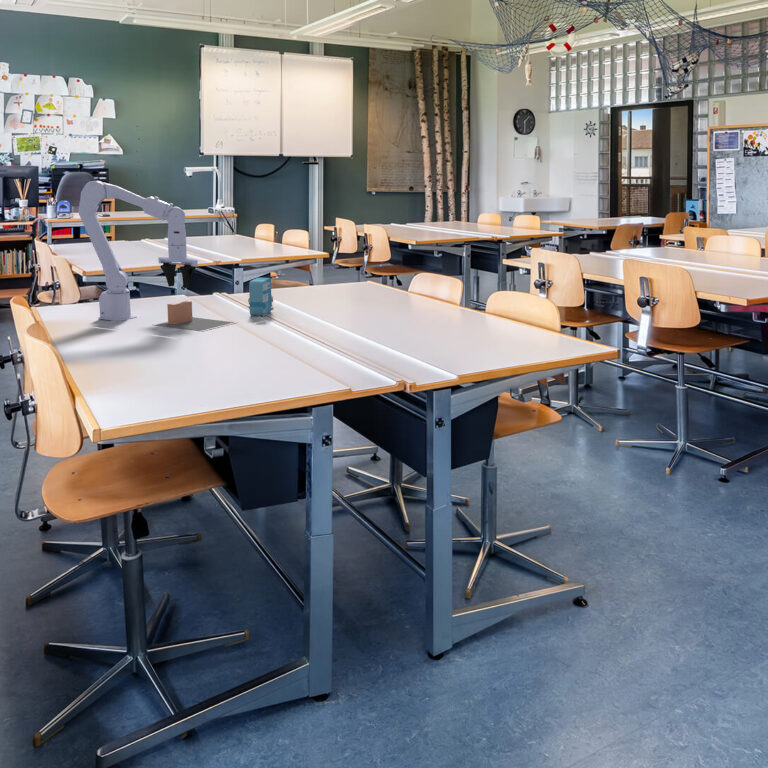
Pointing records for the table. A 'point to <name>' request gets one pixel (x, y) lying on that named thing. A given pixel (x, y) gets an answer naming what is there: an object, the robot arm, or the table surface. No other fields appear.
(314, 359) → the table surface
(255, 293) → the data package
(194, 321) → the mat
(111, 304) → the robot arm
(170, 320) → the card box
